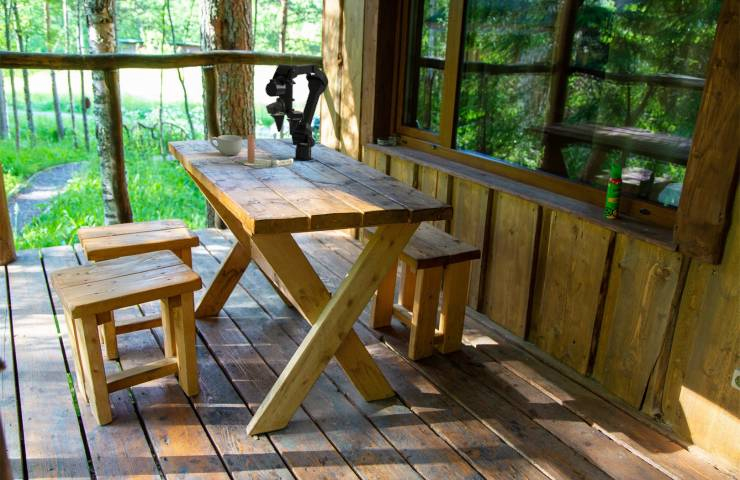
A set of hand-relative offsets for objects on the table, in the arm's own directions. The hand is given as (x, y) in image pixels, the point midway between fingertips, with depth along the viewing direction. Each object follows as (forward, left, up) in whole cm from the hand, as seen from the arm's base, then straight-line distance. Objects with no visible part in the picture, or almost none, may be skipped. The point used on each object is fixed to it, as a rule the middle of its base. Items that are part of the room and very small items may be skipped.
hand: (285, 133), depth 253 cm
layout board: (+7, -5, -13) cm, 16 cm away
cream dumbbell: (+2, +3, -13) cm, 14 cm away
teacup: (+10, -29, -13) cm, 34 cm away
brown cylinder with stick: (+11, -2, -12) cm, 16 cm away
